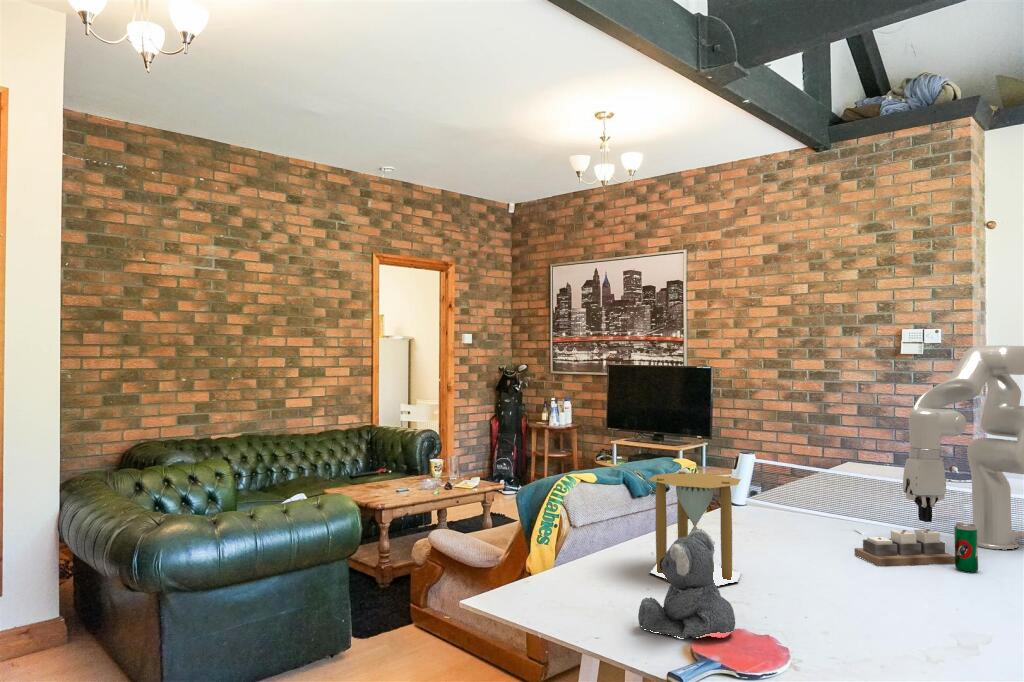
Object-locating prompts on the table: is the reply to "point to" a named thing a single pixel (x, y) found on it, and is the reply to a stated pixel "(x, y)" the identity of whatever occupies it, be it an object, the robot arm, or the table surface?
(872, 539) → the one dot button
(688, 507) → the hourglass
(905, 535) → the three dot button
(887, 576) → the table surface
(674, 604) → the koala plush
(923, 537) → the two dot button
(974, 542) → the soda can
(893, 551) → the button panel
